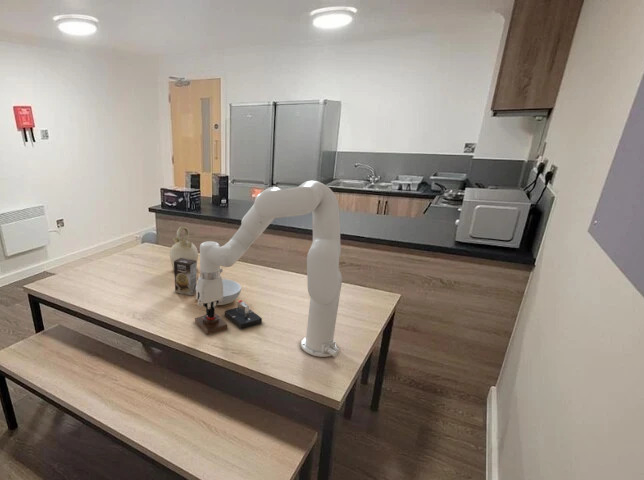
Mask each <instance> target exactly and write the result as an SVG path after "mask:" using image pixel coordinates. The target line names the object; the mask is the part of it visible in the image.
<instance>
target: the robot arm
mask: <svg viewBox="0 0 644 480" xmlns="http://www.w3.org/2000/svg"><path fill="white" fill-rule="evenodd" d="M309 214H311V215H312V223H311V225H312V226H311V227H312V241H311V242H312V243H311V245H310V248H309V249H308V252H307V255H306V277H307V278H306V279H307V280H306V281H307V293H308V296H309V305H308V306H309V307H308V315H307V326H306V335H305V337H304V338H303V339H302V340H301V342H300V347H301V349H302V350H303V351H304V352H305V353H307V354H309V355H311V356H314V357H319V358H320V357H321V358H325V357H326V358H327V357H331V356H332V357H334V358H336V357H337V356H338V353H339V352H340V350H341V349H340V348H339V347H338V346H337V344H336V340H335V339H334V338H335V333H336V332H335V331H336V324H337V317H338V310H339V302H340V298H341V297H340V296H341V290H342V286H343V285H342V284H343V275H342V273H341V271H340V258H341V255H342V246H341V245H342V244H341V243H342V242H341V213H340V204H339V200H338V199H337V196H336V194H335V193H334V191H333V190H332V189H331V188H330V187H329V186H327V185H326V184H324V183H322V182H320V181H318V180H307V181H304V182H303V183H301V184H300V185H298V186H297V187H290V188H283V189H282V188H280V187H277V186H270V187H267V188H266V189H264V190H262V191H261V192H259V193H258V194H257V195H256V197H255V199H254V202H253V205H252V206H251V207H250V208H249V210H248V211H247V212H246V213H245V215H244V216H243V217H242V219H241V221H240V222H241V224H240V225H239V227H238V229H237V231H236V232H235V233H234V235H233V236H232V237H231V238H230V239H229V240H228V241H227V242H226V243H225V244H224V245H222V246H220V243H218V242H216V241H214V240H209V241H208V240H207V241H203V242H202V243H200V245H199V273H200V274H199V275H200V276H199V277H198V278H197V290H196V292H195V293H196V295H195V298H196V300H197V305H198V306H199V307H204V308H205V314H207V316H209V317H210V318H212V317H214V314H216V312H215V311H216V308H217V306H218V305H217V304H218V302H220V301H222V300H223V283H222V279H223V278H222V276H221V274H222V273H223V272H224V270H223V268H230V267H232V266H234V265H235V264H236V263H237V262H238V261H239V260H240V259H241V258H242V257H243V256H244V254H245V253H246V252H247V251H248V250H249V249H250V247H251V246H252V245H253V244H254V242H256V240H257V239H258V238H259V237H260V236H262V235H263V233H264V232H265V231H266V229H267V228H268V227H269V226H270V225H271V223H272V222H273V221H274V220H275V219H280V218H281V219H282V218H287V217H288V218H291V217H297V216H298V217H299V216H305V215H309ZM221 267H223V268H221Z"/></svg>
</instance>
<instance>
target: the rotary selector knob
mask: <svg viewBox="0 0 644 480" xmlns="http://www.w3.org/2000/svg"><path fill="white" fill-rule="evenodd" d="M236 304H237V305H236V308H237V312H238V313H239V314H240V315H242V316H243V317H244V318H246V317H249V309H250V305H249V304H247V303H246V302H245V301H244V300H242V299H240V300H237V302H236Z"/></svg>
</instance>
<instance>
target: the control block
mask: <svg viewBox="0 0 644 480" xmlns="http://www.w3.org/2000/svg"><path fill="white" fill-rule="evenodd" d="M214 315H215V319H213V320H208V319H206V316H207V314H206V313H205V314H204V315H201V316H198V317H195V318H194V324H196V325H197V327H199V328H200V329H201V330H202V331H203V332H204V333H205V334H206V335H212V334H216V333H219V332H222V331H225V330H228V324H227V322H225V321H224V320H223V319H222V318H221V317H220V316H219V314H217V313H215V314H214Z"/></svg>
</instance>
